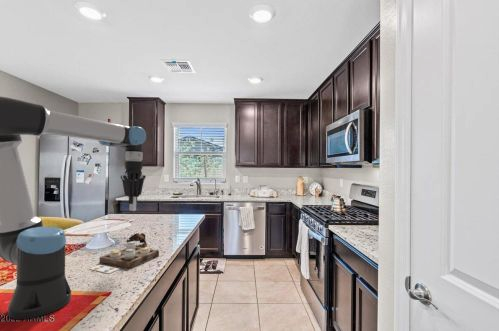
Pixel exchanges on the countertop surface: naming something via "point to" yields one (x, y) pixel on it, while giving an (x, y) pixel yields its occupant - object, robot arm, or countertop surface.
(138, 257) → the button board
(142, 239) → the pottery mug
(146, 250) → the button outer right
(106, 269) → the pattern card
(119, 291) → the countertop surface
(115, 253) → the button inner left
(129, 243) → the button outer left
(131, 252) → the button inner right
